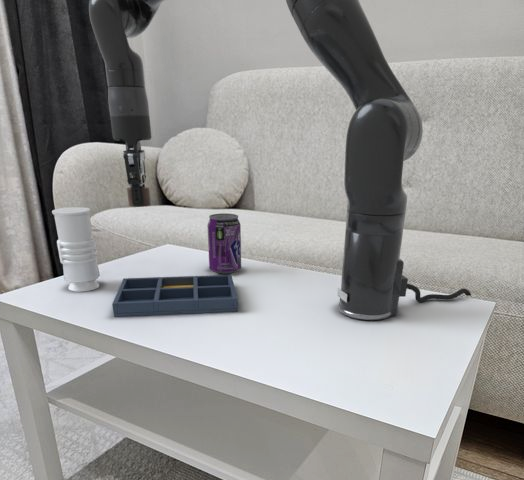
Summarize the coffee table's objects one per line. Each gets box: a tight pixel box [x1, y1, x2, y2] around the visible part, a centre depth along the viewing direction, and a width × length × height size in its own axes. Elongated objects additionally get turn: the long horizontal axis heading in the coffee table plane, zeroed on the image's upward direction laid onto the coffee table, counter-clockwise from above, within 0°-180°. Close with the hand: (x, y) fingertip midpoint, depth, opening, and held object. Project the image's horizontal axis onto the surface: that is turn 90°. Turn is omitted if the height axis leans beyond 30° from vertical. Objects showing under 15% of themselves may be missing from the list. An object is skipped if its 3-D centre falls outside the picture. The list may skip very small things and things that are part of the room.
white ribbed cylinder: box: [51, 206, 101, 293], centre depth 92 cm, size 7×7×15 cm
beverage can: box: [207, 212, 242, 275], centre depth 103 cm, size 7×7×12 cm
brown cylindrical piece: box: [126, 186, 152, 208], centre depth 100 cm, size 5×5×4 cm
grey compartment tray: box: [111, 274, 239, 318], centre depth 88 cm, size 21×14×2 cm
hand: (140, 203), depth 100 cm, fingers closed on brown cylindrical piece, 4 cm apart
